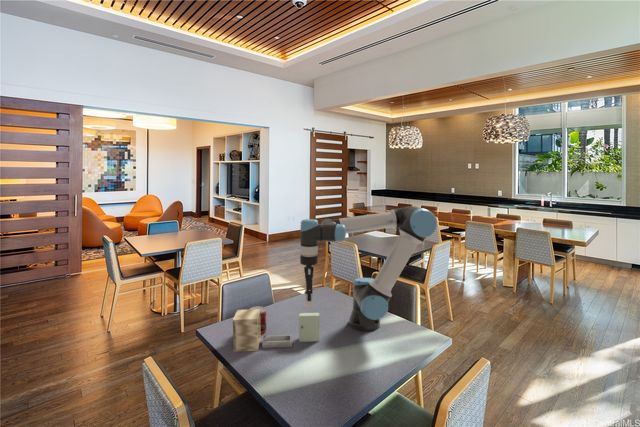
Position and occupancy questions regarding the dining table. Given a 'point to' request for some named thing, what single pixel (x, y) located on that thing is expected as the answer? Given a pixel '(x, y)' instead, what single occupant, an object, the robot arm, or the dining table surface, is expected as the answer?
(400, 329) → the dining table surface
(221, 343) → the dining table surface
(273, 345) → the grey rectangular frame
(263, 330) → the canned food
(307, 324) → the pale green rectangular block
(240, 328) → the open wooden box
